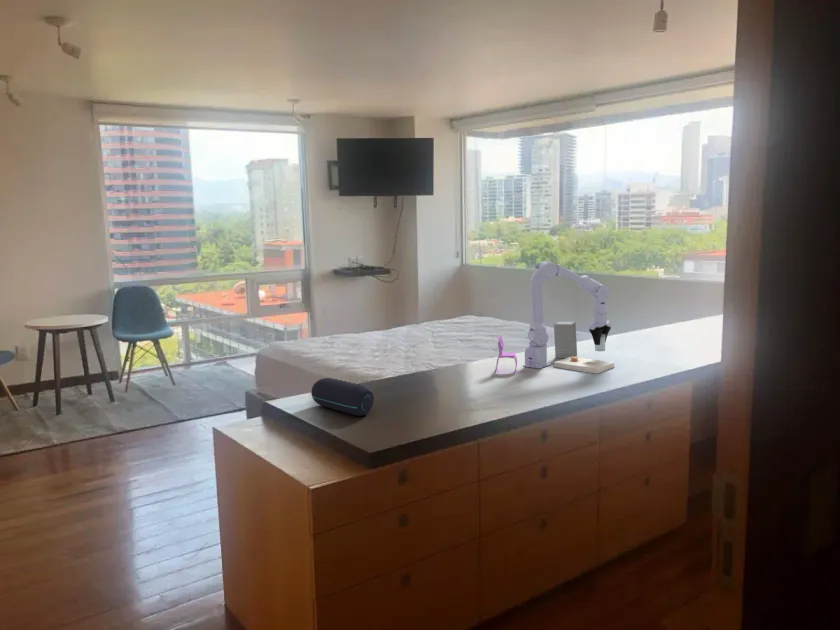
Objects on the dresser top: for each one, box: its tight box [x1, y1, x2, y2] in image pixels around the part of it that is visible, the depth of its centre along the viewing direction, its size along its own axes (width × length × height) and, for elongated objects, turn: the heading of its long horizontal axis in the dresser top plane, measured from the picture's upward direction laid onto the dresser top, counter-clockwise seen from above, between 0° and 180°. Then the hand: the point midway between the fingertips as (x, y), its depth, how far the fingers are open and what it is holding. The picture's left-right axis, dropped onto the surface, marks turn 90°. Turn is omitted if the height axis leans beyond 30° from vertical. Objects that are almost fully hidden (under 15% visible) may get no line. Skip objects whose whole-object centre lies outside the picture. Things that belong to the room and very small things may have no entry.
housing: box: [553, 356, 615, 375], centre depth 272 cm, size 14×20×2 cm
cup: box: [594, 334, 606, 352], centre depth 278 cm, size 4×4×7 cm
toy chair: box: [494, 335, 518, 374], centre depth 267 cm, size 8×9×15 cm
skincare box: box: [553, 321, 578, 359], centre depth 291 cm, size 8×7×16 cm
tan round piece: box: [571, 356, 578, 362], centre depth 275 cm, size 3×3×3 cm
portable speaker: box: [310, 377, 375, 417], centre depth 219 cm, size 25×10×10 cm, turn 47°
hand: (599, 343), depth 279 cm, fingers closed on cup, 4 cm apart
